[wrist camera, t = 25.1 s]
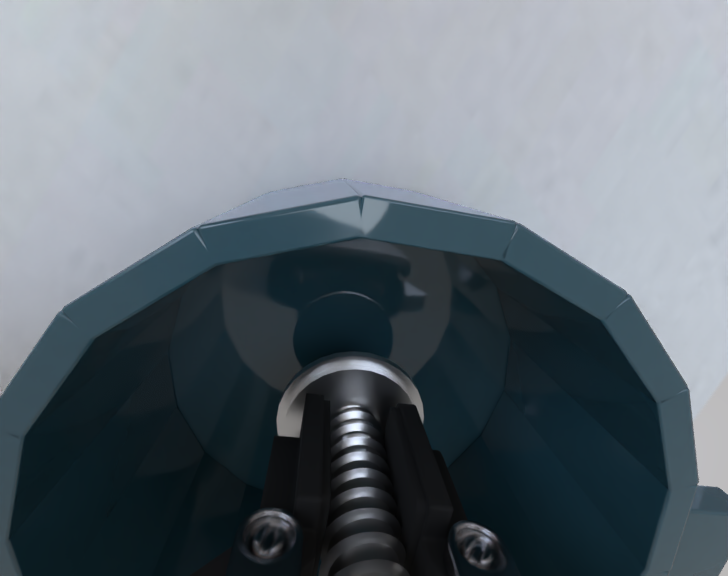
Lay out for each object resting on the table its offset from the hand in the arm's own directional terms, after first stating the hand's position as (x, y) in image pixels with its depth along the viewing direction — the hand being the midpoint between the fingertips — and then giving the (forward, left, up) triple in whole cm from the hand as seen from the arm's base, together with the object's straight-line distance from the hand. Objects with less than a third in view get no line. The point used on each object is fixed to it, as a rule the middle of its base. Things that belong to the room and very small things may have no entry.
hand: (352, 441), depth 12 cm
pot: (0, 0, -5) cm, 5 cm away
